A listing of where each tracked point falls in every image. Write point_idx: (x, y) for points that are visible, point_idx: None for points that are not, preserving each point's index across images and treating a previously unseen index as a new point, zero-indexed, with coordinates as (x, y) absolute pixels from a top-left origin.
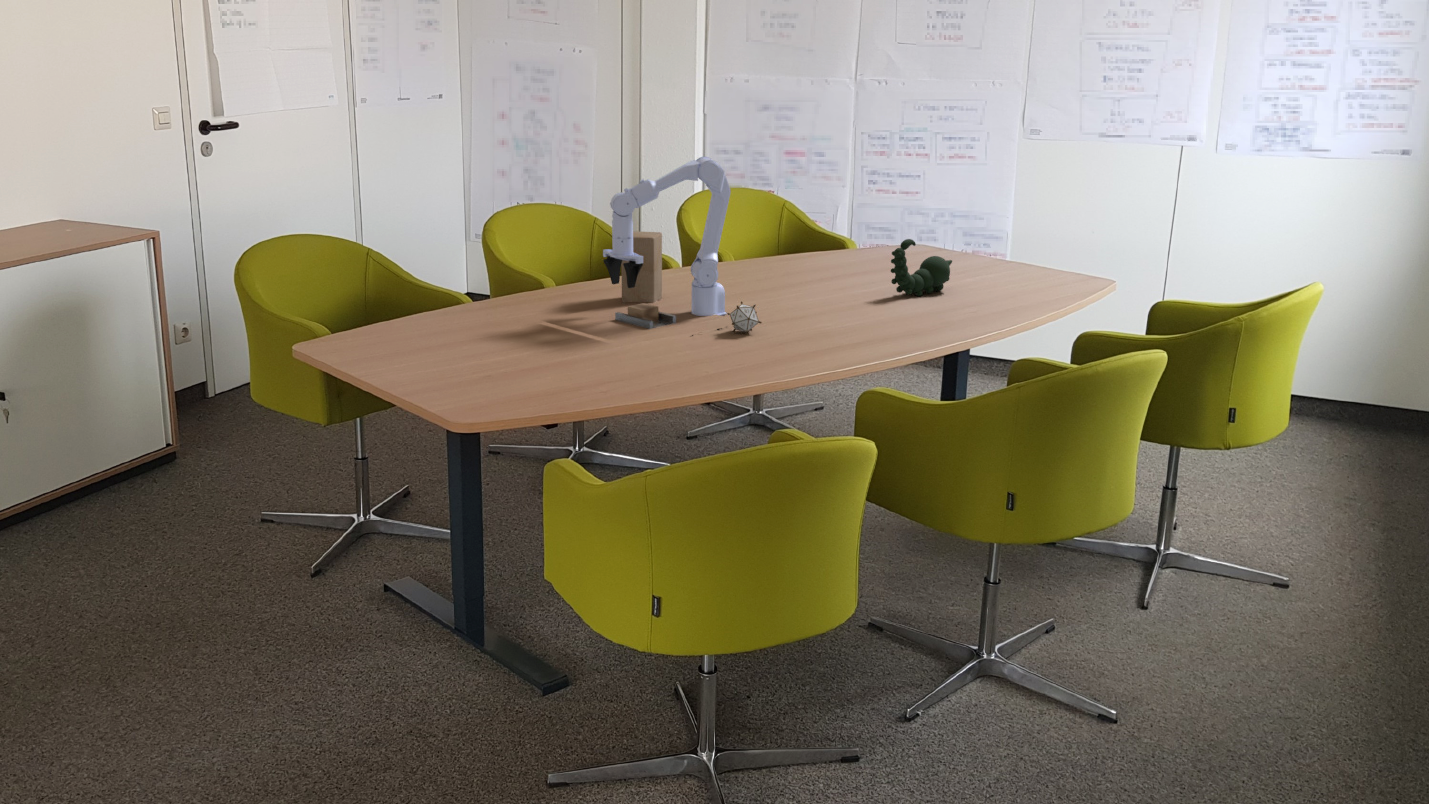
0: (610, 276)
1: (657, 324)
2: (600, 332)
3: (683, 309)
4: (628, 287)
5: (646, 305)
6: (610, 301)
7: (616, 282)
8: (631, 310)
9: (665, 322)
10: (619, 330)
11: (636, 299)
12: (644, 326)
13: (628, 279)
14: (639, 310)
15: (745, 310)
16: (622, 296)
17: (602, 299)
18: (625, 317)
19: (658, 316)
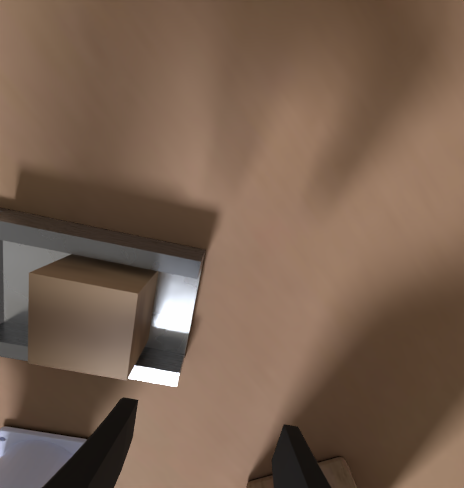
0: (323, 485)
1: None
2: (152, 84)
3: (144, 484)
4: (130, 401)
5: (84, 353)
6: (387, 455)
7: (278, 455)
8: (117, 282)
9: None
10: (115, 160)
11: None
12: (31, 218)
13: (76, 458)
14: (53, 274)
15: None
16: (350, 481)
17: (422, 461)
18: (137, 245)
19: None
